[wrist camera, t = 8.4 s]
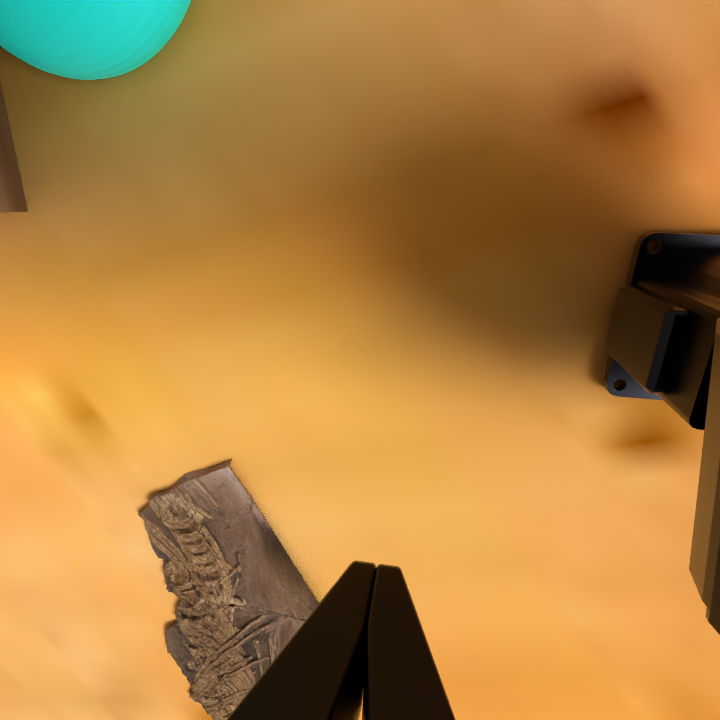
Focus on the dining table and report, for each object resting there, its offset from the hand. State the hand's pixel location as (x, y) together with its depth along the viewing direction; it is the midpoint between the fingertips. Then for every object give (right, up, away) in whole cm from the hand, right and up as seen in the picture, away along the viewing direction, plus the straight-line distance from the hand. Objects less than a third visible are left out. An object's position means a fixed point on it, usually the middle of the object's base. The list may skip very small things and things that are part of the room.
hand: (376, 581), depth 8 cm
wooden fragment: (-7, -13, +21) cm, 26 cm away
